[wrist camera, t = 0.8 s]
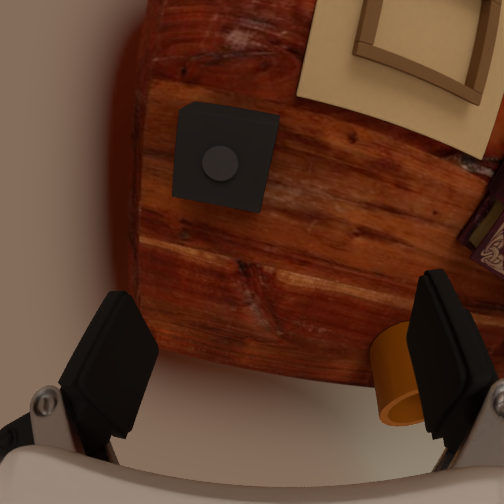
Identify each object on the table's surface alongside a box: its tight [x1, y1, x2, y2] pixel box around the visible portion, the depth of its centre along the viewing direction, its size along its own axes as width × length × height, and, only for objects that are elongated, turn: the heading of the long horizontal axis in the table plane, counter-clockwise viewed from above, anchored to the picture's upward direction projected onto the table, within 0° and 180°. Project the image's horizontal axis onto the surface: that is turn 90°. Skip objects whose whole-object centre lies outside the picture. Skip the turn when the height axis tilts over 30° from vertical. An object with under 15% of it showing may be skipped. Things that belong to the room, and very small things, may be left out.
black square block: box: [172, 101, 280, 213], centre depth 22 cm, size 6×6×4 cm
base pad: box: [296, 0, 504, 160], centre depth 15 cm, size 16×18×2 cm
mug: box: [370, 321, 424, 426], centre depth 31 cm, size 9×12×9 cm
